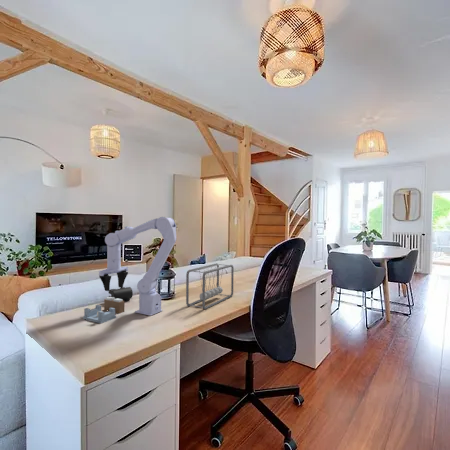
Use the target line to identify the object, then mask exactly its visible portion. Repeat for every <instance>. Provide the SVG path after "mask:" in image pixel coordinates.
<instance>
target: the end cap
mask: <svg viewBox="0 0 450 450" xmlns="http://www.w3.org/2000/svg"><path fill="white" fill-rule="evenodd" d="M107 292H108V294H109V295H108V297H114V298H115V299H116V298H119V299H123V301H125V300H126V301H129V300H131V299H133V298H132V297H133V294H134V292H133V289H132V287H131V286H123V288H120V287H119V288H117V289H116V288H110V289H109V291H107ZM110 295H111V296H110ZM126 301H125V302H126Z"/></svg>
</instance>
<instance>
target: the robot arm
mask: <svg viewBox="0 0 450 450" xmlns="http://www.w3.org/2000/svg"><path fill="white" fill-rule="evenodd" d="M150 230H158V232H160V234H161V237H162V239H163V241H162V243H161V245H160V247H159V248H158V251H157V253H156V254H155V256H154V258H153V261H151V262H152V263H151V265H150V266H149V268H148V270H147V271H146V272H145V274H144V275H143V277H141V279H140V280H139V281H138V282H137V285H136V288H137V290H138V292H139V293H138V295H139V296H138V299H139V300H138V303H139V305H138V306H139V307H138V309H136V310H135V311H134V313H137V314H141V315H147V316H153V315H155V314H158V313H160V312H162V311H163V309H162V296H161V294H159V293H158V292H157V289H156V287H157V285H158V280H159V277H160V273H161V271H162V269H163V266H164V265H165V263H166V261H167V259H168V257H169V256H170V254H171V252H172V250H173V247H174V246H175V244H176V241H177V224H176V222H175V220H174V218H172V217H170V216H169V217H166V216H159V217H158V218H153V219H151V220H148V221H146V222H144V223H142V224H139V225H137V226H135V227H133V226H124V227H123V229H120V230H115V231H114V232H110V233H108V234H106V236H104V237H105V238H104V243H105V244H106V247H107V249H106V252H107V253H106V254H107V259H106V260H107V261H106V262H107V268H105V269H102V270H99V271H98V276H99V277H98V278H99V280H101V282H102V286H103V288H104V292H105V291H106V292H109V290H111V288H110V287H111V286H110V285H111V279H112V274H116V276H117V281H118V282H117V286H118V288H119V289H120V288H123V287H124V284H125V280H126V278H127V277H128V275H129V266H122V265H121V264H122V263H121V262H122V261H121V260H122V259H121V258H122V257H121V256H122V255H121V254H122V253H121V250H122V248H121V247H122V246H121V245H122V244H124V243H127V242H128V241H130V240H133V239H135V238H136V237H137V235H138V234H141V233H144V232H147V231H150ZM121 266H122V267H121Z"/></svg>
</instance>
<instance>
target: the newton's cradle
mask: <svg viewBox="0 0 450 450" xmlns="http://www.w3.org/2000/svg"><path fill="white" fill-rule="evenodd" d="M228 268H231V276H230V277H231V278H230V281H231V284H230V286H231V288H230V291H231V292H230V294H224V293H223V290H224V289H223V287H222V286H221V285H220V284H221V283H222V281H220V278H222V276H223V274H221V277H220V271H221V270H222V272H223V270H224V269H228ZM202 270H203V271H202ZM191 272H193V273H200V274H201V273H202V277H201V275H199V276H200V279H202V282H200V285H201V286H202V288H201V291H202V292H201V293H200V294H199V299H198V300H195V301H193V302H190V303H189V295H190V294H189V293H190V292H189V290H190V288H189V280H190V279H189V277H190V273H191ZM213 273H215V274H213ZM209 274H211V275H209ZM207 275H209V279H208V280H209V287H208V288H207V286H206V285H207V278H208V276H207ZM212 275H213V278H212V279H213V281H212V283H215V278H216V285H215V284H213V285H212V284H211V276H212ZM215 275H216V277H215ZM185 277H186V279H185V280H186V281H185V282H186V283H185V285H186V286H185V292H186V293H185V298H186V299H185V303H186V304H185V305H186V306H187V307H197V308H201V309H204V310H207V309H209V308H211V307H213V306H215V305H217V304H219V303H222V302H223V301H226V300H227V299H230V298H232V297H233V295H234V265H233V264H224V265H223V264H219V263H216V262H215V263H212V264H208V265H204V266H200V267H196V268H192V269H188V270H187V271H186V275H185ZM211 285H212V286H211ZM217 295H220V296H226V297H223V298H221V299H219V300H217V301H214V302H213V303H210V304H209V305H207V306H206V300H207V299H210V298H212V297H215V296H217ZM200 302H202V303H201V305H202V306H200V305H199V306H198V305H196V304H198V303H200Z"/></svg>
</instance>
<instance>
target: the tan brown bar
mask: <svg viewBox="0 0 450 450" xmlns="http://www.w3.org/2000/svg"><path fill="white" fill-rule="evenodd" d="M125 302H126V301H123V299H119V298H116V299H115V298H114V297H109V296H107V297H105V298H104V299H103V311H106V310H108V311H109V308H115V314H121V313H124V312H125ZM108 311H107V312H108Z"/></svg>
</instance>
